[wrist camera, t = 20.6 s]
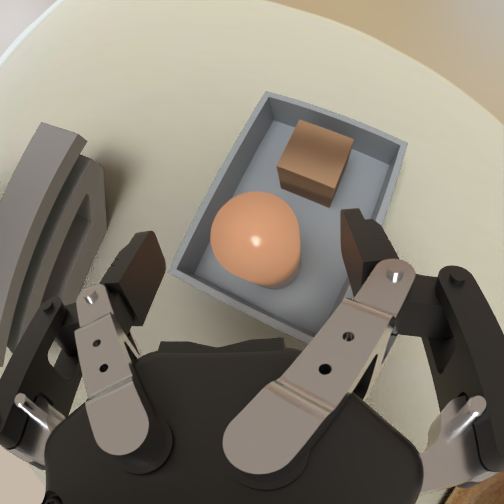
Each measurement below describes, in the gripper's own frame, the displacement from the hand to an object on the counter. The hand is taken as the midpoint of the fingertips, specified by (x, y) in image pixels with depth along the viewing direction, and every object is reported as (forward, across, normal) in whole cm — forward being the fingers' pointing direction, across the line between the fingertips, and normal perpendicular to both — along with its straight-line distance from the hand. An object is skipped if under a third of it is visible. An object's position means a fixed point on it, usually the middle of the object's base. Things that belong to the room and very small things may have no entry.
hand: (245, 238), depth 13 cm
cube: (+17, -5, +4) cm, 18 cm away
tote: (+15, -2, +7) cm, 17 cm away
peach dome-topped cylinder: (+11, 0, +10) cm, 15 cm away
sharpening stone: (+14, +25, +9) cm, 30 cm away
